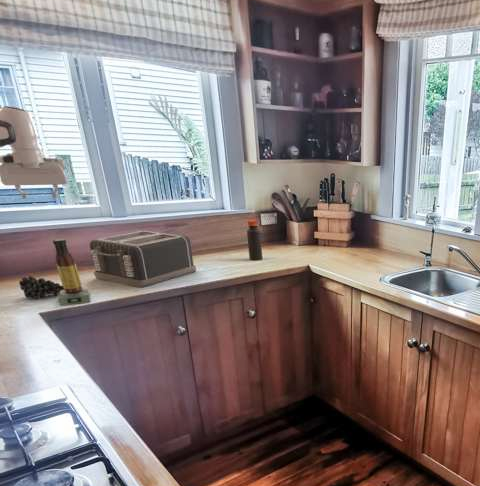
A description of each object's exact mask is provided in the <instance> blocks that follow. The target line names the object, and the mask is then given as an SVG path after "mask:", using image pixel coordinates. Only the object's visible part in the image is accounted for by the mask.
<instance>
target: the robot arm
mask: <svg viewBox="0 0 480 486" xmlns="http://www.w3.org/2000/svg"><path fill="white" fill-rule="evenodd" d="M6 146H9V147H10V148H11V151H12V153H10V152H9V153H6V154H5V155H1V156H0V181H1V183H2V184H3V185H4V186H14V188H15V190H16V191H17V192H18V193H19V194H20V196H21V198H22V199H28V196H27V192H24V191H23V190H21V188H22V187H21V186H52V187H53V188H54V190H53V191H52V192H51V194H50V195H51V197H52V199H53V198H54V199H55V198H58V194H57V193H58V189H59V185H62V186H63V185H67V184H68V177H67V174H66V172H65V170H66V165H65V162H64V160H62V159H60V158H59V157H44V154H43V150H42V146H41V144H40V143H39V134H38V130H37V127H36V124H35V122H34V119H33V116H32V115H31V114H30V112H28V111H27V110H25V109H23V108H20V107H14V106H10V105H9V106H8V105H6V106H2V107H1V108H0V148H4V147H6Z"/></svg>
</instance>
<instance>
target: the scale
mask: <svg viewBox="0 0 480 486" xmlns="http://www.w3.org/2000/svg"><path fill="white" fill-rule="evenodd" d="M86 288H87V290H88V292H87V293H85V294H82V295H78V296H61V295H60V293H59V294H58V297H57V299H58V303H59V306H60V305H61V306H68V305H69V304H70V305H78V304H87V303H88V304H89V303H91V299H92V298H91V297H92V294H91V290H90V287H86ZM70 305H69V306H70Z"/></svg>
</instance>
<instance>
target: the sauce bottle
mask: <svg viewBox="0 0 480 486" xmlns="http://www.w3.org/2000/svg"><path fill="white" fill-rule="evenodd" d="M52 244H53V246H54V248H55V252H56V253H55V265H56V269H57V272H58V275H59V278H60V282H61V286H63V288H64V290H65V291H66V292H77V291H80V290H82V287H83V286H82V281H81V278H80V274H79V270H78V267H77V263H76V262H75V261H76V260H75V257H74V255H73V254H72V253H71V252H70V251H69V249H68V246H67V241H66V238H54V239H52Z"/></svg>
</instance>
